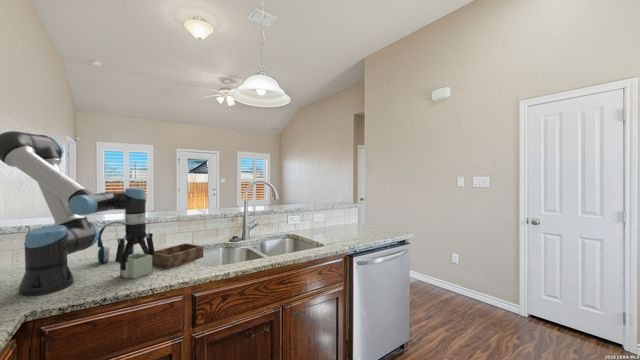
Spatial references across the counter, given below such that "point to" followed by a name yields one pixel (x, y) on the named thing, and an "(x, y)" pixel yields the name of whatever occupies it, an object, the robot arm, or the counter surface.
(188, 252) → the big crate
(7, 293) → the counter surface
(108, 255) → the headphones
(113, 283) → the counter surface
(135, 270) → the small crate
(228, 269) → the counter surface
